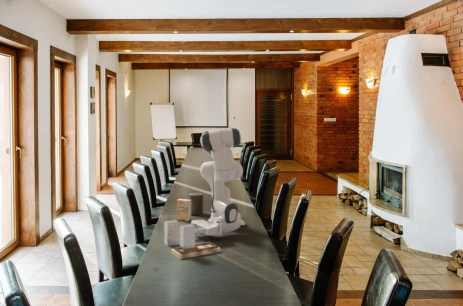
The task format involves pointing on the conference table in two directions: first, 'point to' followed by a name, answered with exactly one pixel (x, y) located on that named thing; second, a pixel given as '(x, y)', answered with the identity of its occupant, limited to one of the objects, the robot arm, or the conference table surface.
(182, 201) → the supplement box
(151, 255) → the conference table surface
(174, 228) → the aluminium billet
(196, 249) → the wooden compartment tray
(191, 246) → the billet
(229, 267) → the conference table surface
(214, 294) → the conference table surface
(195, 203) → the pillar candle
